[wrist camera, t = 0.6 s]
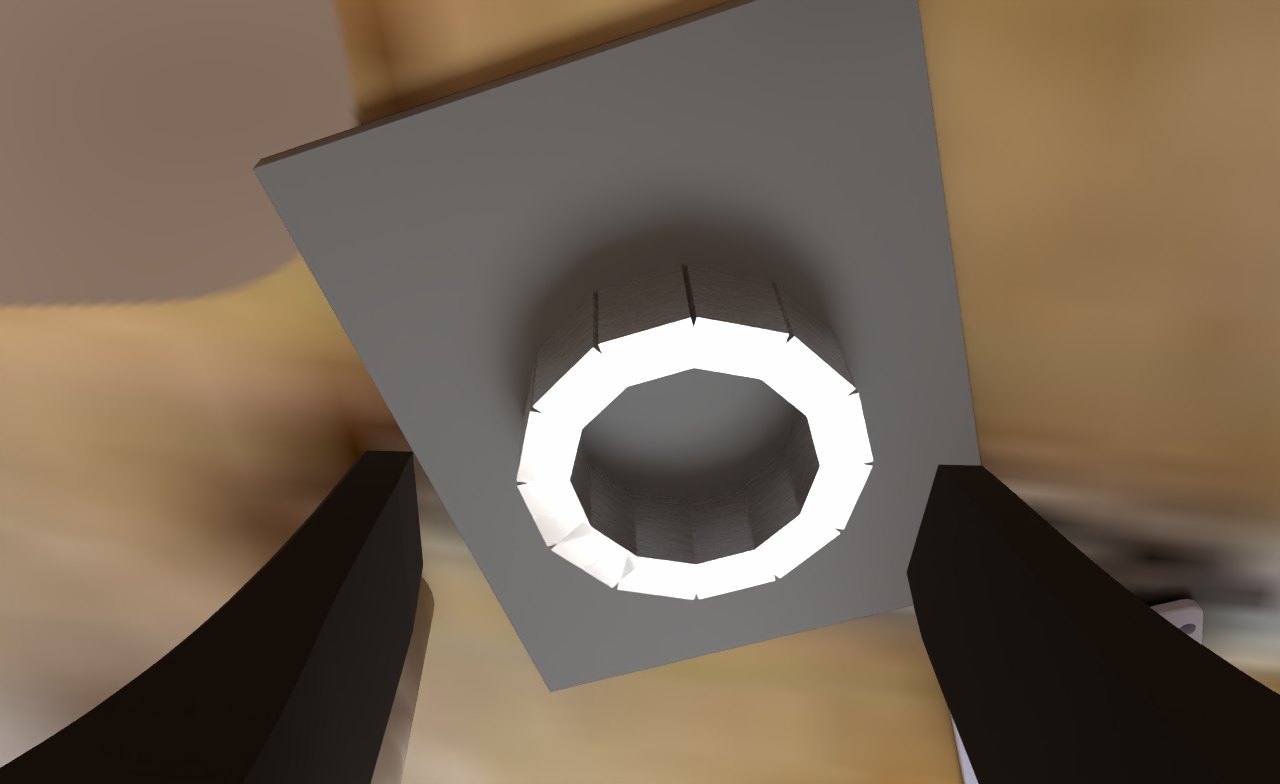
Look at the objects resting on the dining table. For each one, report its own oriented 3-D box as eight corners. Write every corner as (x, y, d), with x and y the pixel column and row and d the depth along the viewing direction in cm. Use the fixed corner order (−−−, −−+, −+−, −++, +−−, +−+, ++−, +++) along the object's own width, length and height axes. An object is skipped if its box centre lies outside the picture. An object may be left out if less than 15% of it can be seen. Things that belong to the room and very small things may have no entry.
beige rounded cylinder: (455, 629, 29) (413, 890, 22) (336, 659, 29) (260, 923, 23) (398, 537, 27) (332, 796, 20) (270, 572, 27) (166, 835, 20)
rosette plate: (990, 570, 28) (997, 585, 28) (551, 676, 30) (550, 692, 30) (902, -57, 18) (910, -52, 18) (261, 159, 20) (252, 168, 20)
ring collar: (868, 486, 25) (892, 551, 23) (588, 559, 26) (588, 626, 24) (809, 225, 21) (832, 276, 19) (477, 324, 22) (465, 383, 20)
